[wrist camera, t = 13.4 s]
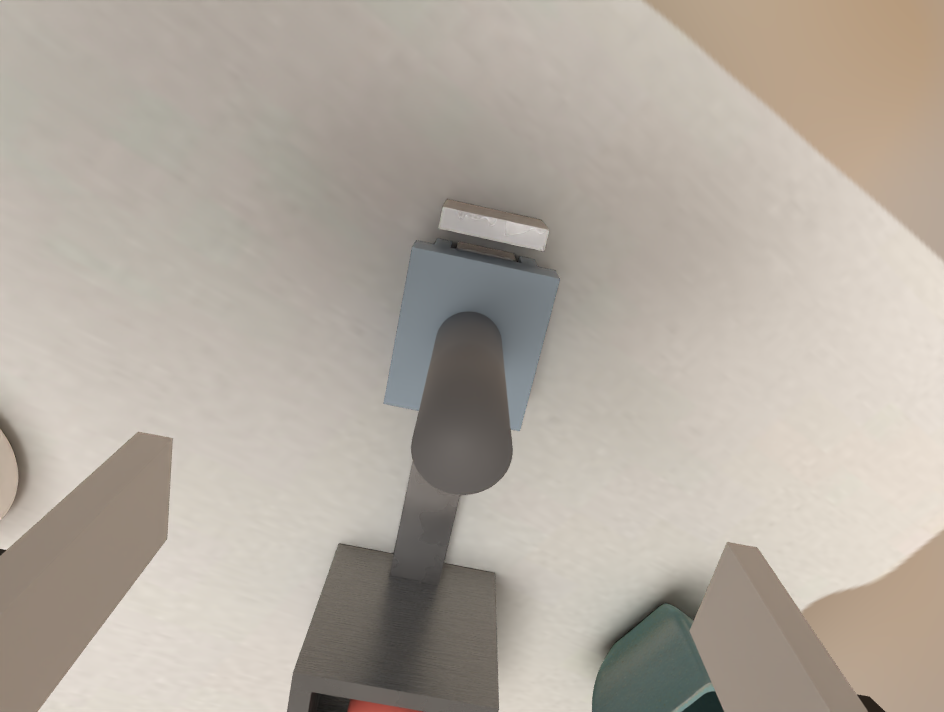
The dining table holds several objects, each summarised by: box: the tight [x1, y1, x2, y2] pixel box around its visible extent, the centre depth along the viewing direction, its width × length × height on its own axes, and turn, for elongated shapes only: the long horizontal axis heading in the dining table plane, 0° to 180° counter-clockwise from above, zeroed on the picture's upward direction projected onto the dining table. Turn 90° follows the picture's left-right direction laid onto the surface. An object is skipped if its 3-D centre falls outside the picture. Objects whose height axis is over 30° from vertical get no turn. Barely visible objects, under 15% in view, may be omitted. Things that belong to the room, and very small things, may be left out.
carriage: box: [384, 238, 560, 495], centre depth 27 cm, size 8×7×15 cm
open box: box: [287, 544, 499, 712], centre depth 36 cm, size 8×10×10 cm
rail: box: [390, 199, 549, 584], centre depth 34 cm, size 22×5×4 cm, turn 168°
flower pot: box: [592, 603, 724, 712], centre depth 37 cm, size 9×9×9 cm
